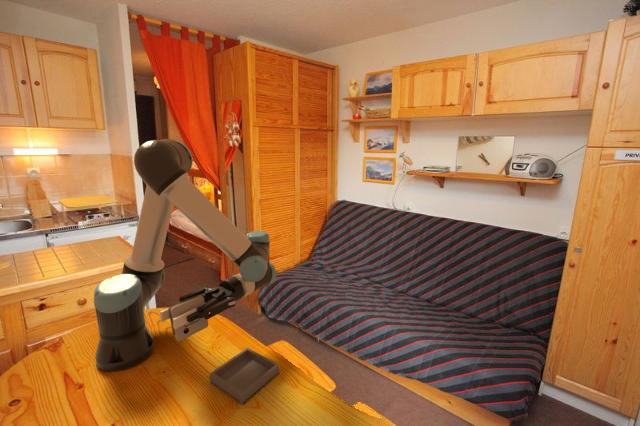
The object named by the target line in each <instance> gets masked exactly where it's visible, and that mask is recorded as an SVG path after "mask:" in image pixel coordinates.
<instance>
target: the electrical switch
mask: <svg viewBox="0 0 640 426" xmlns="http://www.w3.org/2000/svg"><path fill="white" fill-rule="evenodd" d="M178 303H179V304H178ZM178 303H176V305H175V304H173V305H174V306H173V305H171V306H169V307H167V308H168V310H169V315H170V318H169V319H170V325H171V326H170V327H171V330H172V335H173V336H174V338H175V340H176V341H177V342H181V341H183V340H185V339H187V338H189V337H191V336H193V335H195V334H197V333H200V332H201V331H203V330H204V329H207V328H208V327H209V321H208V320H209V319H207V320H206V319H205V318H204V317H203V318H198V319H196V320H194V321H192V322H189V323H187V324H185V325H183V326H181V327H179V328H177V329H174V328H173V318H175V317H177V316H180V315H182V314H184V313H186V312H188V311H190V310H192V309H194V308H196V309H197V311H198V306H200V307H201V306H203V305H204V304H206V303H205V302H204V297H203V296H198V297H196V298H195V297H193V298H191V299H188V300H186V301H184V302H181V303H180V302H178Z"/></svg>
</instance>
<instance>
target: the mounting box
mask: <svg viewBox="0 0 640 426" xmlns="http://www.w3.org/2000/svg"><path fill="white" fill-rule="evenodd" d="M278 375H280V364H279V363H277V362H275V361H274V360H271V359H270V358H268V357H265V356H264V355H262V354H260V353H259V352H256V351H254V350H252V349H251V348H250V347H246V348H244V349H243V350H242V351H239V353H237V354H236V355H234V356H233V357H232V358H230V359H228V360H226V362H224V363H223V364H221V365H220V366H219V367H216V368H215V369H214V370H212V371H211V372H209V384H211V385H212V386H214V387H215V388H217V390H219V391H221V392H222V393H224V394H225V395H227V396H228V397H230V398H231V399H233V400H234V401H235V402H237V403H238V404H240V405H242V406H244V405H246V403H247V402H249V400H250V399H253V397H254V396H255V395H256V394H258V393H259V392H260V391H261V390H262V389H264V387H266V386H267V385H268V384H269V383H271V382H272V381H273V380H274V379H275V378H276V377H278Z"/></svg>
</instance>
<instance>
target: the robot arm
mask: <svg viewBox="0 0 640 426" xmlns="http://www.w3.org/2000/svg"><path fill="white" fill-rule="evenodd" d="M193 163H194V161H193V154H192V152H191V151H190V149H189V148H188V146H187V145H186V144H185V143H182V142H181V141H178V140H175V139H171V138H163V139H160V140H159V139H153V140H148V141H145V142H143V143H142V144H141V145H140V146H138V148H137V149H136V151H135V153H134V157H133V164H134V165H133V166H134V168H135V170H136V172H137V174H138V176H139V177H140V179H142V181H143V182H144V184H145V186H146V187H145V192H144V196H143V201H142V206H141V210H140V213H139V219H138V224H137V227H136V233H135V237H134V241H133V246H132V250H131V255H129V256H127V257H126V258H125V259H124V261H123V268H122V272H121V274H117V275H113V276H111V277H110V278H108V277H107V278H106V279H104V280H102V281H100V283H98V284H97V285H96V287H95V288H94V292H93V306H94V308H95V313H96V321H97V325H98V326H97V328H98V332H99V333H98V334H99V339H98V343H97V347H96V351H95V356H94V358H95V365H96V367H97V368H98V369H99V370H101V371H105V372H109V373H110V372H120V371H124V370H129V369H132V368H133V367H137V366H139V365H140V364H142V363H144V362H145V361H147V360H148V359H149V358H150V357H151V356H152V354H153V353H154V351H155V341H154V337H153V335H152V333H151V332H150V331H149V329H148V327H147V325H146V319H145V308H146V306H147V305H148V304H149V302H150V301H151V300H152V298H153V297H154V296H155V295H156V294H157V293H158V292H159V291H160V290H161V289H162V286H163V284H164V282H165V278H166V277H165V276H166V273H165V269H164V268H165V263H164V260H162V255H163V250H164V248H165V243H166V237H167V233H168V231H169V225H170V222H171V217H172V213H173V209H174V207H175V208H177V210H179V211H180V213H182V214H183V215H184V216H185V217H186V218H187V220H189V221H190V222H191V223H192V224H194V225H195V227H196V228H197V229H199V231H201V233H203V234H204V235H205V236H206V237H207V238H208V239H209V240H210V241H211V242H212V243H214V245H216V246H217V248H218V249H219V250H221V252H223V253H224V254H225V255H226V256H227V257H228V258H229V259H230V260H231V261H232V262H233V263H234V264H235V265H236V267H238V268H239V273H237V274H234V275H232V276H230V277H227V278H225V279H223V280H222V281H221V282H220V284H219V285H218V286H215V287H212V288H209V286H208V285H204V286H202V287H201V288H199V289H196V290H194V291H192V292H190V293H186V294H185V295H182V296H180V297H179V302H177V303H176V304H179V303H181V302H184V301H186V300H188V299H191V298H193V297H195V298H196V297H198V296H203V297H204V302H205V304H204V305H203V306H201V307H200V306H198V311H197V309H196V308H194V309H192V310H190V311H188V312H186V313H184V314H182V315H180V316H177V317H175V318H173V328H174V329H177V328H179V327H181V326H183V325H185V324H187V323H189V322H192V321H194V320H196V319H198V318H203V317H204V318H205V319H206V320H207V319H208V320H209V319H212V318H213V317H215V316H216V315H218V314H220V313H223V312H224V311H226V310H228V309H231V308H234V307H236V302H238V301H240V300H241V299H243V298H245V297H247V296H249V295H251V294H252V293H255V292H257V291H259V290H261V289H263V288H265V287H267V286H269V285H271V283H273V282H274V281H275V280H276V279H277V274H278V273H277V270H276V267H275V266H274V264H272V262H271V261H270V248H271V247H270V246H271V245H270V243H271V241H270V234H269V233H268V232H267V231H263V230H254V231H250V232H248V233H247V234H246V235H245V234H244V233H243V232H241V230H240V229H239V228H238V227H237V226H236V225H235V224H234V223H233V222H232V221H231V220H230V219H229V218H228V217H227V216H226V215H225V214H224V213H223V212H222V211H221V210H220V209H219V208H218V207H217V206H216V205H215V204H214V203H213V202H212V201H211V200H210V199H209V198H208V197H207V196H206V195H205V194H204V193H203V192H202V191H201V190H200V189H199V188H198V187H197V186H196V185H195V184H194V183H193V182H192V181H191V180H190V179H189V171H191V169H192V166H193ZM176 304H173V305H172V306H174V305H176ZM168 308H169V307H167V308H165V309H163V310H160V311H159V315H160V316H159V317H160V321H161V322H165V321H167V320H169V319H170V315H169V310H168Z"/></svg>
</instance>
